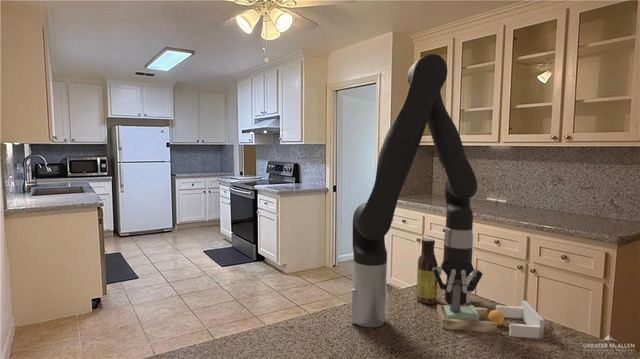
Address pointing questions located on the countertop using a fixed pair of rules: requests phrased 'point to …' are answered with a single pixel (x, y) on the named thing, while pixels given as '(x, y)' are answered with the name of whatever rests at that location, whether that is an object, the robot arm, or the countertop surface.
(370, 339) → the countertop surface
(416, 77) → the robot arm
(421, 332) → the countertop surface
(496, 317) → the ball
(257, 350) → the countertop surface
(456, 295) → the striker
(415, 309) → the countertop surface
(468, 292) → the smoothie
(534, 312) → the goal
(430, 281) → the sauce bottle
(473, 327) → the wooden rectangular frame
